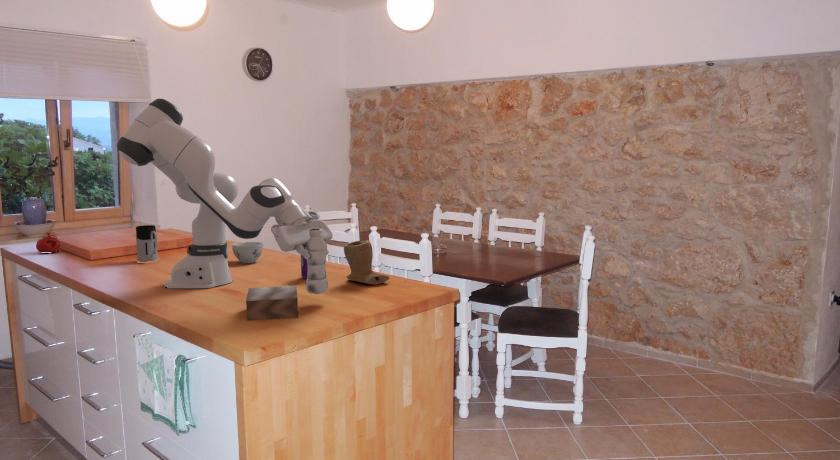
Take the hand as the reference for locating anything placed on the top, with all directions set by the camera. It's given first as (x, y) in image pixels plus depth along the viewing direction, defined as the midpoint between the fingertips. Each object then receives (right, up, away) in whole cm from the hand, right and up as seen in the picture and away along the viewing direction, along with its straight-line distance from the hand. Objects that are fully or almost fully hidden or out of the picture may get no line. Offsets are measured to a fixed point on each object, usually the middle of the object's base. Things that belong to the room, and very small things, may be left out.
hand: (317, 256), depth 187 cm
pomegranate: (-138, -3, +93) cm, 166 cm away
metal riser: (-12, -16, -8) cm, 21 cm away
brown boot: (+11, -11, +31) cm, 35 cm away
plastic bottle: (-1, -12, +2) cm, 12 cm away
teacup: (-41, -6, +69) cm, 81 cm away
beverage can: (-9, -10, +39) cm, 41 cm away
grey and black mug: (-81, -6, +69) cm, 106 cm away
